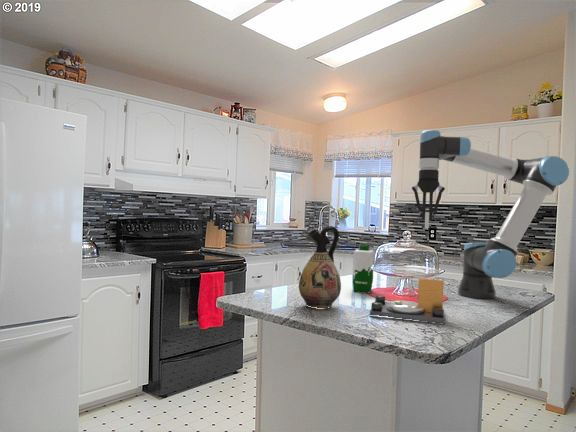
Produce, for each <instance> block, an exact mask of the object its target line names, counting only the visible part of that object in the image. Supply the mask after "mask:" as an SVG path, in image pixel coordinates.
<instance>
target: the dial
mask: <svg viewBox="0 0 576 432" xmlns="http://www.w3.org/2000/svg"><path fill="white" fill-rule="evenodd" d="M444 281H445V280H443V279H434V278H433V279H432V278H418V291H417V292H418V293H417V295H418V297H417V298H418V299H417V302H415V301H410V300H409V301H408V300H390V301H386V302H387V309H388V310H391V311H394V312H398V313H406V314H420V313H424V312H432V309H433V308H441V309H444V307H443V306H444V305H443V303H444V302H443V301H444V283H445V282H444Z"/></svg>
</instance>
